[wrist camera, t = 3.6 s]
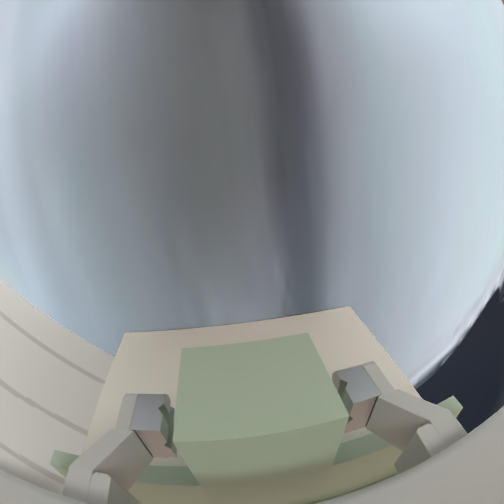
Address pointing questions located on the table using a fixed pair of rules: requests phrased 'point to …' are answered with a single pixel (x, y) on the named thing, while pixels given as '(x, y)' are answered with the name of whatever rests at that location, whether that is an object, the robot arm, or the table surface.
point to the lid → (261, 431)
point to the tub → (172, 341)
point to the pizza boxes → (44, 390)
